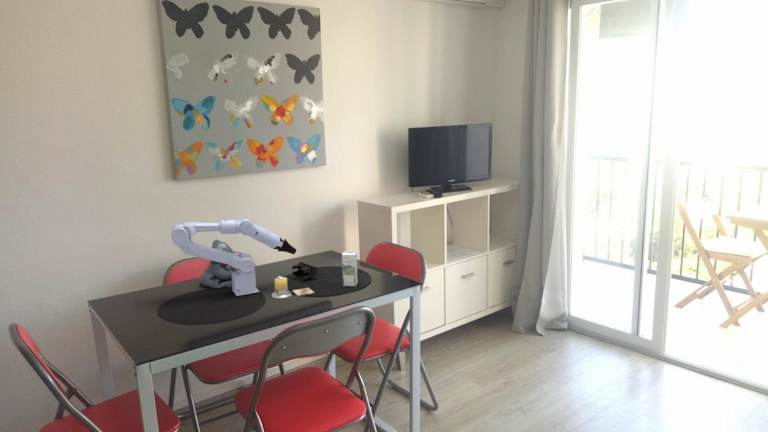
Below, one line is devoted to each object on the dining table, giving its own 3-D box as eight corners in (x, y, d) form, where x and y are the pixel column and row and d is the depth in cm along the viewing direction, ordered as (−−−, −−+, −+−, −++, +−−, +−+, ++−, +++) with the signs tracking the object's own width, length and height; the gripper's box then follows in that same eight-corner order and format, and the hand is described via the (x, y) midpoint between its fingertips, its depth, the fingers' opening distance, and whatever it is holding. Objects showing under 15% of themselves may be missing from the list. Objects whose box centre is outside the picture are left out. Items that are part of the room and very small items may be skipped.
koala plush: (245, 286, 234) (243, 242, 230) (202, 292, 228) (198, 247, 224) (240, 275, 250) (237, 234, 246) (199, 280, 243) (196, 238, 239)
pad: (298, 296, 221) (298, 295, 221) (292, 291, 227) (292, 290, 227) (314, 293, 224) (314, 292, 224) (308, 288, 231) (308, 287, 230)
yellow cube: (289, 289, 221) (288, 278, 220) (277, 291, 219) (276, 280, 218) (285, 285, 225) (284, 275, 224) (273, 287, 223) (272, 276, 222)
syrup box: (357, 282, 237) (357, 250, 234) (355, 287, 232) (355, 254, 229) (344, 282, 238) (343, 250, 235) (342, 286, 232) (341, 254, 229)
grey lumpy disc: (275, 300, 217) (274, 292, 217) (269, 294, 224) (268, 287, 224) (294, 296, 221) (293, 289, 220) (287, 290, 228) (287, 284, 227)
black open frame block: (318, 279, 243) (317, 264, 241) (305, 283, 238) (304, 268, 237) (305, 274, 250) (304, 260, 248) (292, 278, 245) (291, 263, 244)
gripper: (273, 229, 220) (302, 244, 225) (266, 227, 233) (293, 241, 238) (265, 244, 219) (294, 259, 224) (258, 241, 232) (285, 255, 237)
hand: (293, 251), depth 231 cm, fingers open, 7 cm apart
